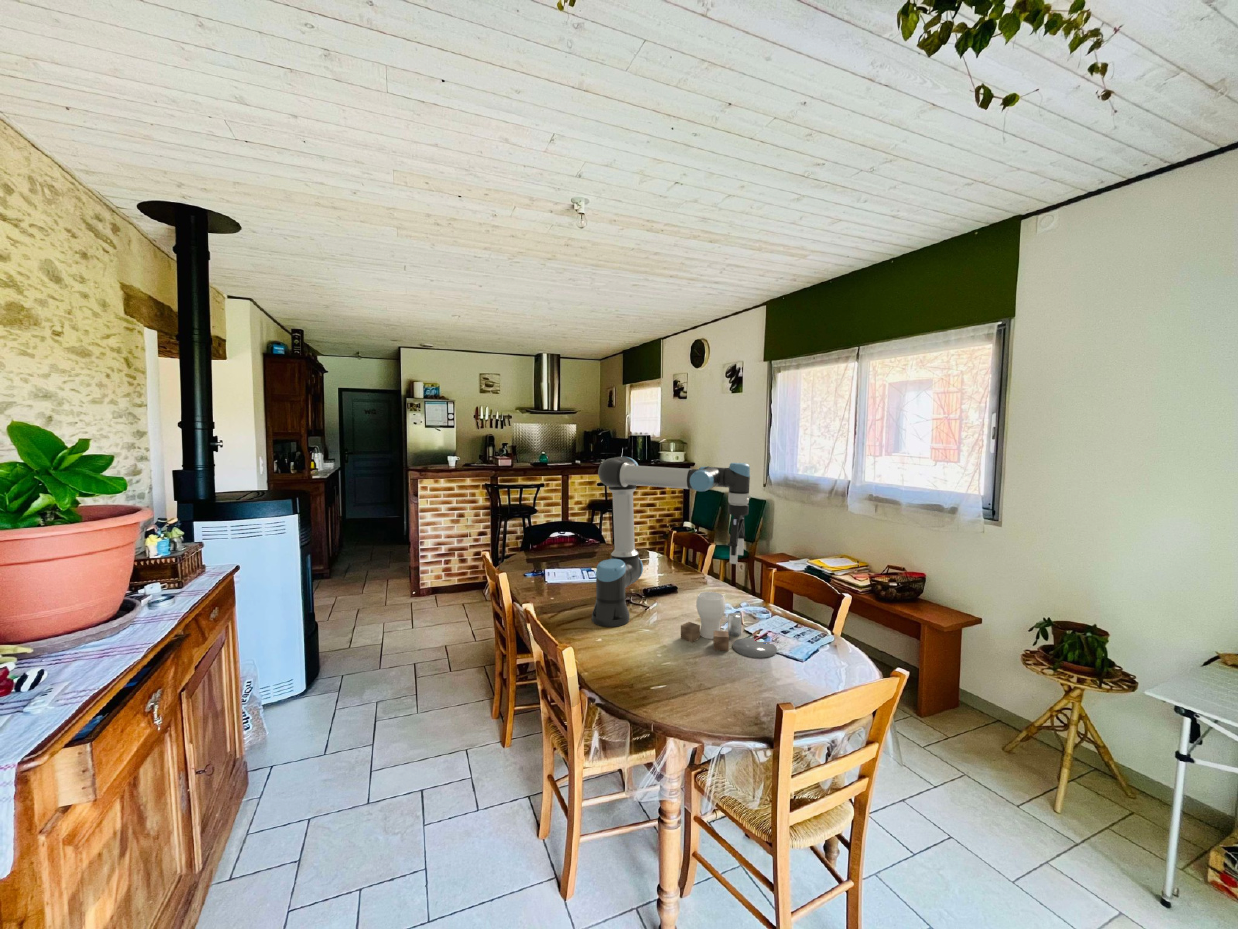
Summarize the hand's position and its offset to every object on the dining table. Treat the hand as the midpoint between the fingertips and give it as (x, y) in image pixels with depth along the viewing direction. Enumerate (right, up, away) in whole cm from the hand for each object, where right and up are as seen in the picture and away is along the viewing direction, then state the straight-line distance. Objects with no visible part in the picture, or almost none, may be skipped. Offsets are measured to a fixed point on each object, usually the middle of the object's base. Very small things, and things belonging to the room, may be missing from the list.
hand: (736, 559), depth 194 cm
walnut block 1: (-19, -28, -7) cm, 34 cm away
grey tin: (-1, -28, -2) cm, 28 cm away
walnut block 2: (-9, -29, -14) cm, 33 cm away
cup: (-11, -28, -4) cm, 30 cm away
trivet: (+3, -29, -15) cm, 32 cm away
